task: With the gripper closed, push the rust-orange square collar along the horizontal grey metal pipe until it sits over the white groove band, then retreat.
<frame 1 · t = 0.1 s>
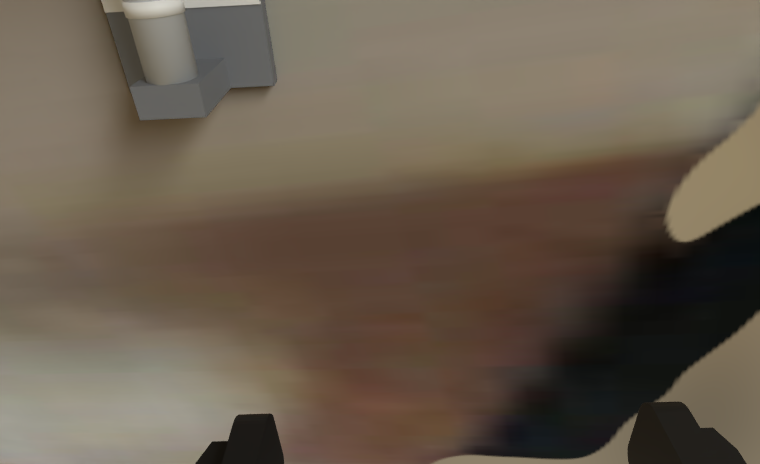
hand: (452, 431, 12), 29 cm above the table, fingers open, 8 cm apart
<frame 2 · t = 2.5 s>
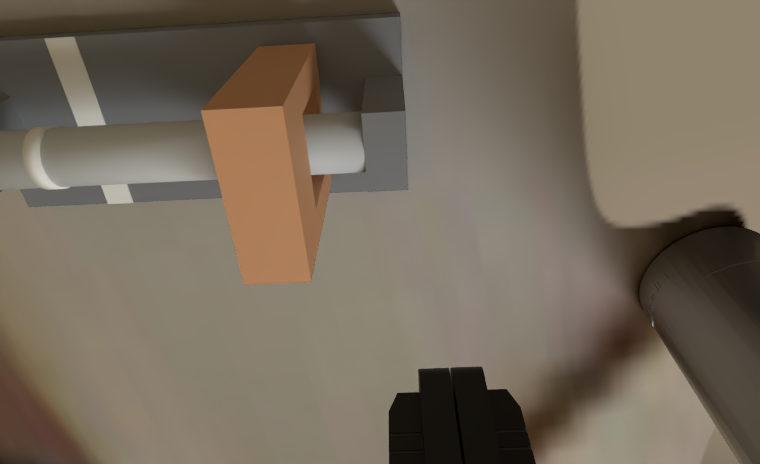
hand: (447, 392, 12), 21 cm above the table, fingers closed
collar: (282, 154, 25), point 7 cm above the table, slide at -6.0 cm
pipe rail: (201, 114, 31), on the table
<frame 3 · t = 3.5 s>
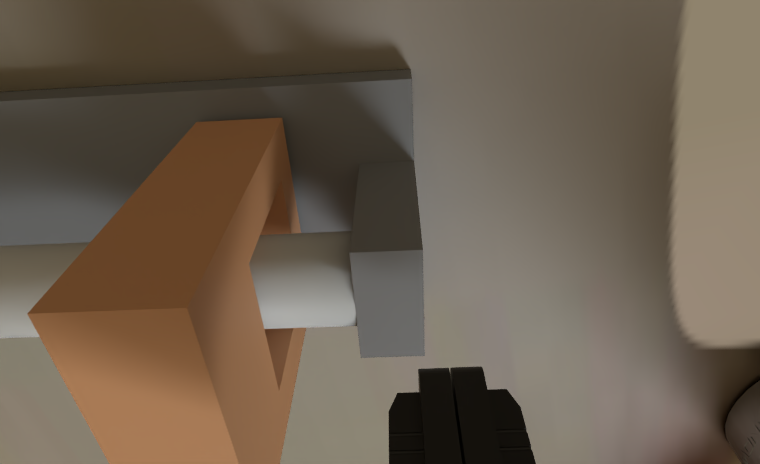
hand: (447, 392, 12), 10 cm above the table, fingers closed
collar: (225, 302, 16), point 7 cm above the table, slide at -6.0 cm
pipe rail: (125, 206, 22), on the table
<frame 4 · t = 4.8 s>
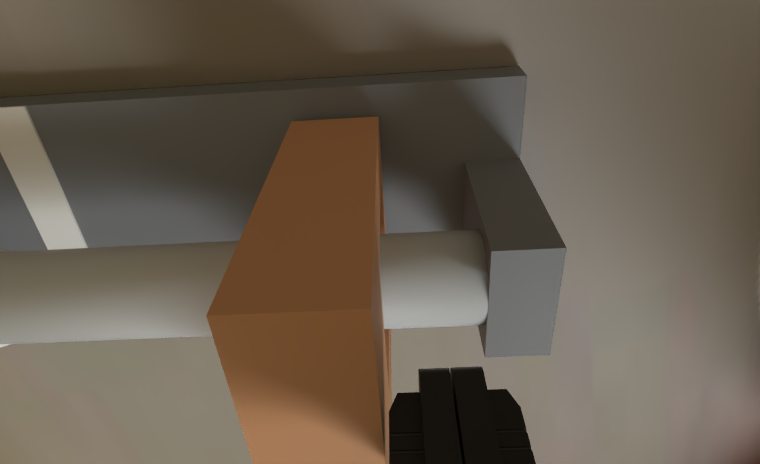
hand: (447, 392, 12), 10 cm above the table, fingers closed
collar: (335, 303, 16), point 6 cm above the table, slide at -5.5 cm, touching gripper
pipe rail: (216, 206, 21), on the table
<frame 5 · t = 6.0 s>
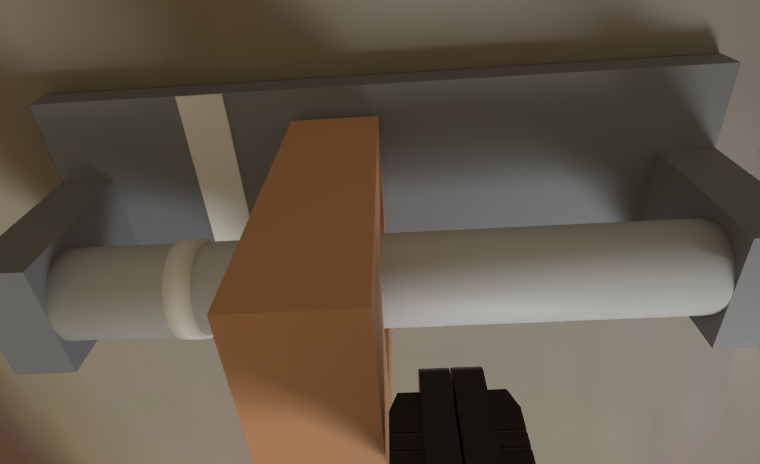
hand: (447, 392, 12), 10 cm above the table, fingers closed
collar: (335, 302, 16), point 7 cm above the table, slide at 1.4 cm, touching gripper
pipe rail: (383, 197, 21), on the table
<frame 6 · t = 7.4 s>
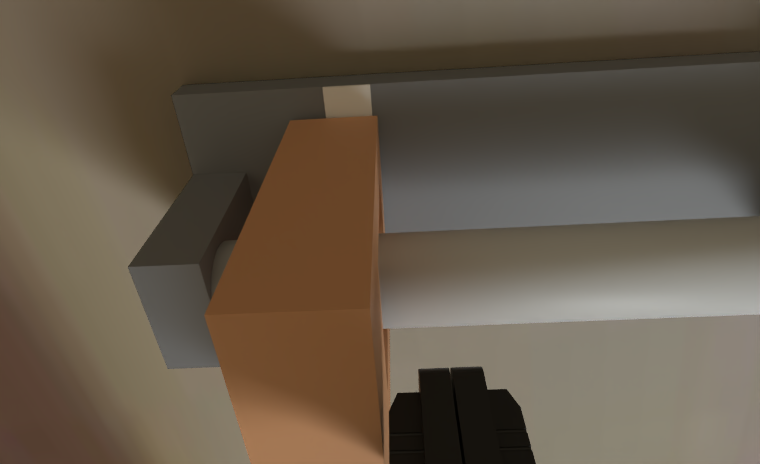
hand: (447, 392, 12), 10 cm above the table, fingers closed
collar: (333, 303, 16), point 7 cm above the table, slide at 6.5 cm, touching gripper
pipe rail: (508, 191, 21), on the table
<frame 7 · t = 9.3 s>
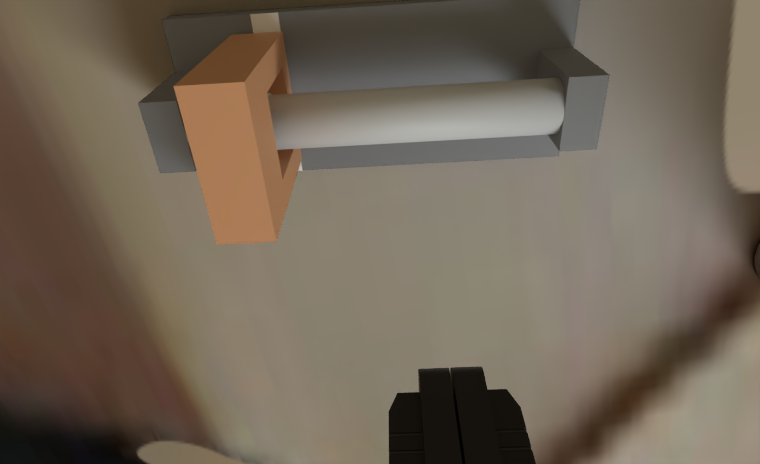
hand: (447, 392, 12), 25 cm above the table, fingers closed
collar: (252, 130, 28), point 7 cm above the table, slide at 6.5 cm
pipe rail: (374, 86, 33), on the table
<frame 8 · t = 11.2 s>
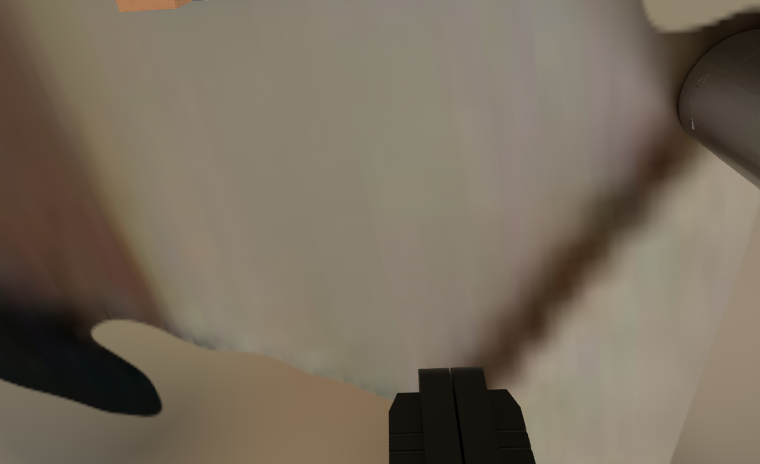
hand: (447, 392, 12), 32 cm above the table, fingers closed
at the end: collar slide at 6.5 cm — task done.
